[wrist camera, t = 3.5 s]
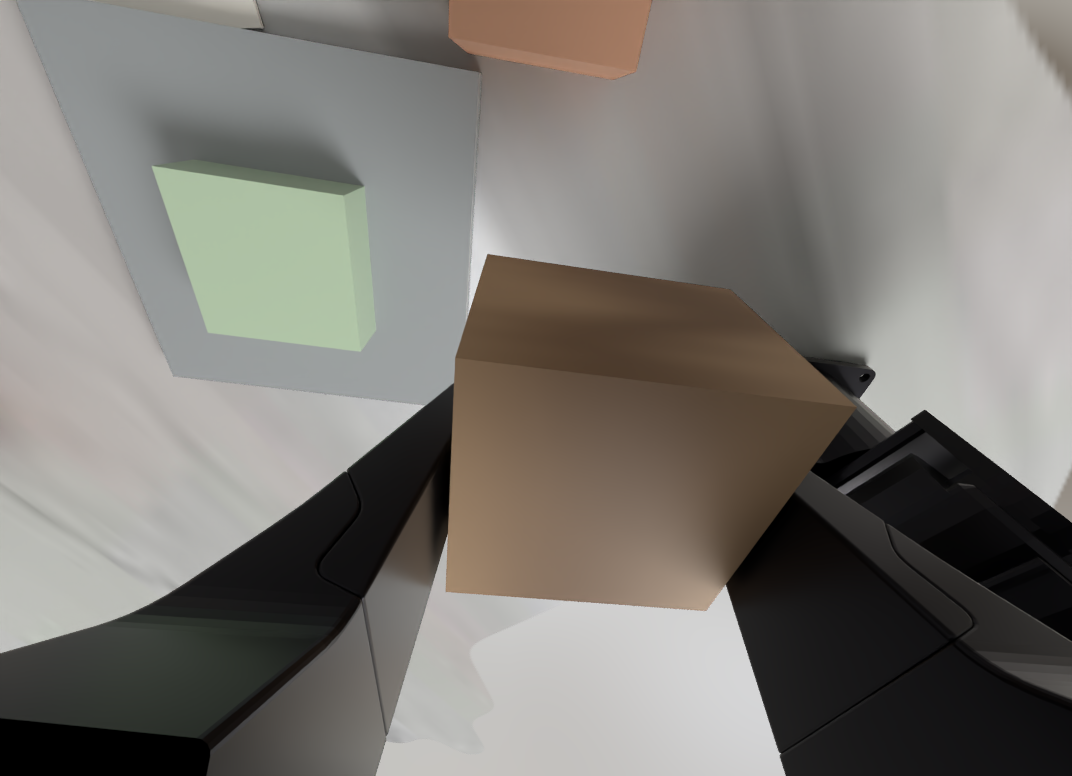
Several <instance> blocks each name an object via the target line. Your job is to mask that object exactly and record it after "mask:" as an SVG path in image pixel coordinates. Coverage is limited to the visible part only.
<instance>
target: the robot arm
mask: <svg viewBox="0 0 1072 776" xmlns="http://www.w3.org/2000/svg"><path fill="white" fill-rule="evenodd" d="M804 358H805V359H806V360H807V361H808V362H809V363H810V364H811V365H812V366H813V367H814V368H815V369H817V370H818V371H819V372H820V373H821V374H822V375H823V376H824V377H825V378H826V379H827V380H828V381H829V382H831V383H832V384H833V385H834V386H835V387H836V388H837V389H838V390H839V391H840V392H841V393H842V394H843V395H845V396H846V397H847V398H848V399H849V400H850V401H851V402H852V403H853V404H854V405H855V406H856V407H857V408H856V409H855V410H854V412H853V413H852V414H851V416H850V417H849V419H848V420H847V421H846V423H845V424H844V425H843V427H842V428H841V429H840V431H839V432H838V433H837V435H836V436H835V437H834V439H833V440H832V441H831V443H830V444H829V446H828V447H827V448H826V450H825V451H824V452H823V454H822V455H821V456H820V458H819V459H818V460H817V462H816V463H815V464H814V466H813V467H812V468H811V470H810V471H809V473H808V474H807V475H806V477H805V478H804V479H803V481H802V482H801V483H800V485H799V486H798V487H797V489H796V490H795V491H794V493H793V494H792V496H791V497H790V498H789V500H788V501H787V502H786V504H785V505H784V506H783V508H782V509H781V510H780V512H779V513H778V514H777V516H776V517H775V518H774V520H773V521H772V523H771V524H770V525H769V527H768V528H767V529H766V531H765V532H764V533H763V535H762V536H761V537H760V539H759V540H758V541H757V543H756V544H755V545H754V547H753V548H752V550H751V551H750V552H749V554H748V555H747V556H746V558H745V559H744V560H743V562H742V563H741V564H740V566H739V567H738V568H737V570H736V571H735V573H734V574H733V575H732V577H731V578H730V579H729V581H728V582H727V583H726V587H727V590H728V593H729V596H730V599H731V602H732V605H733V609H734V612H735V615H736V618H737V621H738V625H739V627H740V631H741V634H742V637H743V640H744V644H745V646H746V650H747V653H748V656H749V659H750V663H751V666H752V669H753V672H754V675H755V678H756V682H757V685H758V688H759V691H760V694H761V697H762V701H763V704H764V707H765V710H766V713H767V716H768V720H769V723H770V726H771V729H772V732H773V735H774V739H775V742H776V745H777V748H778V751H779V752H780V753H781V754H780V758H781V762H782V765H783V768H784V771H785V774H786V776H1072V523H1071V522H1070V521H1069V520H1068V519H1066V518H1065V517H1064V516H1062V515H1061V514H1060V513H1058V512H1057V511H1056V510H1055V509H1053V508H1052V507H1051V506H1050V505H1048V504H1047V503H1046V502H1044V501H1043V500H1042V499H1041V498H1039V497H1038V496H1037V495H1035V494H1034V493H1033V492H1032V491H1030V490H1029V489H1028V488H1026V487H1025V486H1024V485H1022V484H1021V483H1020V482H1019V481H1017V480H1016V479H1015V478H1013V477H1012V476H1011V475H1009V474H1008V473H1007V472H1006V471H1004V470H1003V469H1002V468H1000V467H999V466H998V465H996V464H995V463H994V462H993V461H991V460H990V459H989V458H987V457H986V456H985V455H983V454H982V453H981V452H979V451H978V450H977V449H976V448H974V447H973V446H972V445H970V444H969V443H968V442H966V441H965V440H964V439H962V438H961V437H960V436H959V435H957V434H956V433H955V432H953V431H952V430H951V429H949V428H948V427H947V426H946V425H944V424H943V423H942V422H940V421H939V420H938V419H936V418H935V417H934V416H932V415H931V414H930V413H929V412H927V411H926V410H923V411H922V412H920V413H919V414H917V415H916V416H914V417H913V418H911V420H912V422H910V423H909V424H907V425H906V426H904V427H903V428H901V429H900V430H898V431H897V432H895V431H894V430H893V429H892V428H891V427H890V426H888V425H887V424H886V423H885V422H884V421H883V420H882V419H881V418H880V417H878V416H877V415H876V414H875V413H874V412H873V411H872V410H871V409H870V408H868V407H867V406H866V405H865V404H864V403H863V402H862V401H861V400H860V397H861V396H862V394H863V393H864V392H865V390H866V389H867V388H868V386H869V385H870V384H871V382H872V381H873V379H874V378H875V372H874V370H872V369H871V368H870V367H868V366H866V365H860V364H852V363H845V362H838V361H830V360H823V359H815V358H808V357H804ZM863 374H864V375H863ZM861 375H863V376H861ZM860 376H861V377H860ZM453 398H454V383H453V384H451V385H450V386H449V387H448V388H447V389H445V390H444V391H443V392H442V393H440V394H439V395H438V396H437V397H435V398H434V399H433V400H432V401H431V402H429V403H428V404H427V405H426V406H424V407H423V408H422V409H421V410H419V411H418V412H417V413H416V414H415V415H413V416H412V417H411V418H410V419H408V420H407V421H406V422H405V423H403V424H402V425H401V426H400V427H399V428H397V429H396V430H395V431H394V432H392V433H391V434H390V435H389V436H387V437H386V438H385V439H384V440H383V441H381V442H380V443H379V444H378V445H376V446H375V447H374V448H373V449H371V450H370V451H369V452H368V453H366V454H365V455H364V456H363V457H362V458H360V459H359V460H358V461H357V462H355V463H354V464H353V465H352V466H350V467H349V468H348V469H347V472H343V473H342V474H340V475H339V476H338V477H337V478H335V479H334V480H333V481H332V482H331V483H329V484H328V485H327V486H325V487H324V488H323V489H322V490H320V491H319V492H318V493H316V494H315V495H314V496H312V497H311V498H310V499H309V500H307V501H306V502H305V503H303V504H302V505H301V506H299V507H298V508H296V509H295V510H293V511H292V512H290V513H289V514H288V515H286V516H285V517H283V518H282V519H280V520H279V521H278V522H276V523H275V524H273V525H272V526H270V527H269V528H267V529H266V530H264V531H263V532H261V533H260V534H258V535H257V536H255V537H254V538H252V539H251V540H249V541H248V542H246V543H245V544H243V545H242V546H240V547H239V548H237V549H236V550H234V551H233V552H231V553H230V554H228V555H227V556H225V557H224V558H222V559H221V560H219V561H218V562H216V563H215V564H213V565H212V566H210V567H209V568H207V569H206V570H204V571H203V572H201V573H200V574H198V575H197V576H195V577H194V578H192V579H191V580H189V581H188V582H186V583H185V584H183V585H182V586H180V587H178V588H177V589H175V590H174V591H172V592H170V593H169V594H167V595H165V596H164V597H162V598H160V599H158V600H156V601H154V602H153V603H151V604H149V605H147V606H145V607H143V608H141V609H139V610H136V611H134V612H132V613H130V614H128V615H125V616H123V617H120V618H117V619H115V620H112V621H109V622H106V623H103V624H100V625H97V626H94V627H90V628H87V629H83V630H80V631H76V632H73V633H69V634H66V635H62V636H59V637H56V638H52V639H49V640H45V641H42V642H38V643H35V644H31V645H28V646H24V647H21V648H17V649H14V650H11V651H7V652H4V653H0V776H375V775H376V772H377V768H378V765H379V762H380V759H381V755H382V752H383V749H384V745H385V742H386V736H387V734H388V732H389V728H390V725H391V722H392V718H393V715H394V711H395V708H396V705H397V701H398V698H399V695H400V691H401V688H402V685H403V681H404V678H405V675H406V671H407V668H408V665H409V661H410V658H411V655H412V651H413V648H414V645H415V641H416V638H417V634H418V631H419V628H420V624H421V621H422V618H423V614H424V611H425V608H426V604H427V601H428V598H429V594H430V591H431V588H432V584H433V581H434V578H435V574H436V571H437V568H438V564H439V561H440V557H441V554H442V551H443V547H444V544H445V541H446V537H447V534H448V522H449V497H450V472H451V447H452V423H453Z"/></svg>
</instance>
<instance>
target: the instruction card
mask: <svg viewBox="0 0 1072 776" xmlns="http://www.w3.org/2000/svg"><path fill="white" fill-rule="evenodd" d="M89 1H94V2H100V3H105V4H111V5H116V6H122V7H127V8H132V9H138V10H143V11H149V12H154V13H160V14H165V15H170V16H176V17H181V18H187V19H192V20H198V21H203V22H208V23H214V24H219V25H225V26H230V27H236V28H241V29H261V28H264V27H263V23H262V20H261V17H260V13H259V10H258V7H257V4H256V0H89Z"/></svg>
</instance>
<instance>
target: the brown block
mask: <svg viewBox="0 0 1072 776" xmlns="http://www.w3.org/2000/svg"><path fill="white" fill-rule="evenodd" d="M856 408H857V407H856V406H855V405H854V404H853V403H852V402H851V401H850V400H849V399H848V398H847V397H846V396H845V395H843V394H842V393H841V392H840V391H839V390H838V389H837V388H836V387H835V386H834V385H833V384H832V383H831V382H829V381H828V380H827V379H826V378H825V377H824V376H823V375H822V374H821V373H820V372H819V371H818V370H817V369H815V368H814V367H813V366H812V365H811V364H810V363H809V362H808V361H807V360H806V359H805V358H804V357H803V356H801V355H800V354H799V353H798V352H797V351H796V350H795V349H794V348H793V347H792V346H791V345H790V344H789V343H787V342H786V341H785V340H784V339H783V338H782V337H781V336H780V335H779V334H778V333H777V332H776V331H775V330H773V329H772V328H771V327H770V326H769V325H768V324H767V323H766V322H765V321H764V320H763V319H762V318H761V317H759V316H758V315H757V314H756V313H755V312H754V311H753V310H752V309H751V308H750V307H749V306H748V305H747V304H745V303H744V302H743V301H742V300H741V299H740V298H739V297H738V296H737V295H736V294H735V293H734V292H733V291H732V290H730V289H724V288H717V287H710V286H703V285H696V284H689V283H682V282H675V281H669V280H662V279H655V278H648V277H641V276H634V275H627V274H620V273H613V272H607V271H600V270H593V269H586V268H579V267H572V266H565V265H558V264H552V263H545V262H538V261H531V260H524V259H517V258H510V257H503V256H496V255H490V254H487V257H486V261H485V264H484V267H483V270H482V273H481V277H480V280H479V283H478V286H477V289H476V293H475V296H474V299H473V302H472V305H471V309H470V312H469V315H468V318H467V321H466V325H465V328H464V331H463V334H462V337H461V341H460V344H459V347H458V350H457V353H456V357H455V373H454V398H453V423H452V447H451V472H450V497H449V522H448V547H447V572H446V592H455V593H469V594H483V595H496V596H510V597H523V598H537V599H551V600H564V601H578V602H591V603H605V604H619V605H632V606H647V607H660V608H673V609H687V610H700V611H706V610H707V609H708V607H709V606H710V605H711V604H712V602H713V601H714V600H715V598H716V597H717V595H718V594H719V593H720V591H721V590H722V588H723V587H724V586H725V585H726V583H727V582H728V581H729V579H730V578H731V577H732V575H733V574H734V573H735V571H736V570H737V568H738V567H739V566H740V564H741V563H742V562H743V560H744V559H745V558H746V556H747V555H748V554H749V552H750V551H751V550H752V548H753V547H754V545H755V544H756V543H757V541H758V540H759V539H760V537H761V536H762V535H763V533H764V532H765V531H766V529H767V528H768V527H769V525H770V524H771V523H772V521H773V520H774V518H775V517H776V516H777V514H778V513H779V512H780V510H781V509H782V508H783V506H784V505H785V504H786V502H787V501H788V500H789V498H790V497H791V496H792V494H793V493H794V491H795V490H796V489H797V487H798V486H799V485H800V483H801V482H802V481H803V479H804V478H805V477H806V475H807V474H808V473H809V471H810V470H811V468H812V467H813V466H814V464H815V463H816V462H817V460H818V459H819V458H820V456H821V455H822V454H823V452H824V451H825V450H826V448H827V447H828V446H829V444H830V443H831V441H832V440H833V439H834V437H835V436H836V435H837V433H838V432H839V431H840V429H841V428H842V427H843V425H844V424H845V423H846V421H847V420H848V419H849V417H850V416H851V414H852V413H853V412H854V410H855V409H856Z"/></svg>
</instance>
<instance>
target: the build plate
mask: <svg viewBox="0 0 1072 776" xmlns="http://www.w3.org/2000/svg"><path fill="white" fill-rule="evenodd" d="M16 2H17V5H18V7H19V9H20V12H21V14H22V16H23V19H24V21H25V24H26V26H27V28H28V31H29V33H30V36H31V38H32V40H33V43H34V45H35V47H36V50H37V52H38V55H39V57H40V59H41V62H42V64H43V67H44V69H45V71H46V74H47V76H48V78H49V81H50V83H51V86H52V88H53V90H54V93H55V95H56V98H57V100H58V102H59V105H60V107H61V110H62V112H63V114H64V117H65V119H66V121H67V124H68V126H69V129H70V131H71V133H72V136H73V138H74V141H75V143H76V145H77V148H78V150H79V152H80V155H81V157H82V160H83V162H84V164H85V167H86V169H87V172H88V174H89V176H90V179H91V181H92V184H93V186H94V188H95V191H96V193H97V195H98V198H99V200H100V203H101V205H102V207H103V210H104V212H105V215H106V217H107V219H108V222H109V224H110V226H111V229H112V231H113V234H114V236H115V238H116V241H117V243H118V246H119V248H120V250H121V253H122V255H123V258H124V260H125V262H126V265H127V267H128V269H129V272H130V274H131V277H132V279H133V281H134V284H135V286H136V289H137V291H138V293H139V296H140V298H141V300H142V303H143V305H144V308H145V310H146V312H147V315H148V317H149V320H150V322H151V324H152V327H153V329H154V331H155V334H156V336H157V339H158V341H159V343H160V346H161V348H162V351H163V353H164V355H165V358H166V360H167V363H168V365H169V367H170V370H171V372H172V374H173V376H174V377H183V378H192V379H200V380H209V381H218V382H226V383H235V384H244V385H252V386H261V387H270V388H278V389H287V390H296V391H304V392H313V393H322V394H330V395H339V396H348V397H356V398H365V399H374V400H382V401H391V402H400V403H408V404H417V405H427V404H428V403H429V402H431V401H432V400H433V399H434V398H435V397H437V396H438V395H439V394H440V393H442V392H443V391H444V390H445V389H447V388H448V387H449V386H450V385H451V384H453V383H454V373H455V357H456V353H457V350H458V347H459V344H460V341H461V337H462V334H463V331H464V328H465V325H466V321H467V318H468V303H469V286H470V269H471V251H472V234H473V217H474V200H475V182H476V165H477V148H478V131H479V113H480V96H481V79H482V74H481V73H479V72H475V71H469V70H464V69H458V68H453V67H448V66H442V65H437V64H431V63H426V62H420V61H415V60H409V59H404V58H399V57H393V56H388V55H382V54H377V53H371V52H366V51H361V50H355V49H350V48H344V47H339V46H333V45H328V44H323V43H317V42H312V41H306V40H301V39H295V38H290V37H285V36H279V35H274V34H268V33H263V32H257V31H252V30H246V29H241V28H236V27H230V26H225V25H219V24H214V23H208V22H203V21H198V20H192V19H187V18H181V17H176V16H170V15H165V14H160V13H154V12H149V11H143V10H138V9H132V8H127V7H122V6H116V5H111V4H105V3H100V2H94V1H89V0H16Z"/></svg>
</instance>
